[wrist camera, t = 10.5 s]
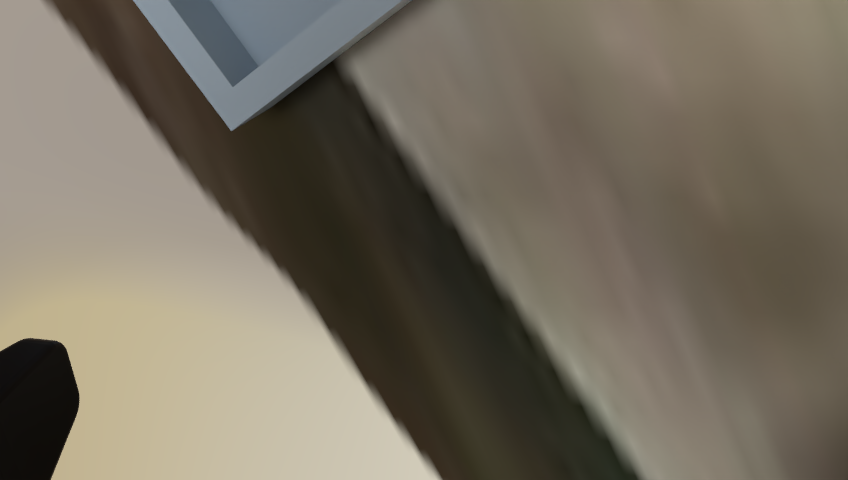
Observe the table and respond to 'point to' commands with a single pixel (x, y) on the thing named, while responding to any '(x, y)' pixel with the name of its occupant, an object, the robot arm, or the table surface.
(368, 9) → the drip tray
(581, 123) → the table surface
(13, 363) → the robot arm
